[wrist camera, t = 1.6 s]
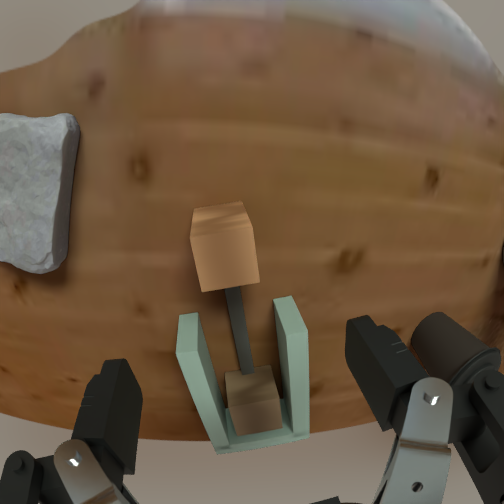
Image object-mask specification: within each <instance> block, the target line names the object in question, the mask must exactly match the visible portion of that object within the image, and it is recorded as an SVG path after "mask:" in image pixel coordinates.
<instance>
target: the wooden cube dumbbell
mask: <svg viewBox="0 0 504 504" xmlns="http://www.w3.org/2000/svg"><path fill="white" fill-rule="evenodd" d="M190 241H191V246H192V251H193V255H194V260H195V264H196V269H197V273H198V277H199V282H200V286H201V290H202V292H206V291H212V290H218V289H224V290H225V295H226V300H227V305H228V310H229V315H230V320H231V325H232V329H233V334H234V339H235V344H236V348H237V353H238V358H239V363H240V367H241V370H237V371H231V372H225V381H226V391H227V400H228V408H229V411H230V414H231V418H232V421H233V424H234V427H235V430H236V433H237V436H242V435H248V434H254V433H260V432H266V431H271V430H276V429H281V428H283V426H282V417H281V408H280V399H279V395H278V391H277V387H276V384H275V380H274V376H273V373H272V369H271V365H265V366H260V367H254V366H253V361H252V355H251V350H250V344H249V338H248V333H247V327H246V321H245V315H244V310H243V304H242V298H241V292H240V286H242V285H247V284H253V283H259V282H260V279H259V272H258V264H257V257H256V249H255V242H254V235H253V227H252V225H251V222H250V220H249V218H248V215H247V213H246V210H245V208H244V206H243V203H242V201H237V202H231V203H225V204H219V205H213V206H207V207H201V208H196V209H194V211H193V218H192V225H191V233H190Z"/></svg>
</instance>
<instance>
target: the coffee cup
mask: <svg viewBox="0 0 504 504" xmlns="http://www.w3.org/2000/svg"><path fill="white" fill-rule="evenodd" d="M411 341H412V346H413V347H414V349H415V351H416V353H417V354H418V356H419V358H420V360H421V361H422V363H423V365H424V367H425V369H426V370H427V372H428V374H429V376H430V377H434V378H439V379H442V380H444V381H445V382H447V383H448V384H449V385H450V386H455V385H462V384H468V383H473V381H474V379H475V377H476V375H477V374H478V373H479V372H481V371H483V370H489V369H490V370H496V371H498V369H499V367H500V364H501V356H500V350H499V349H497V348H496V347H495V348H489V347H488V346H487V345H486V344H484V343H483V342H482V341H480V340H479V339H478V338H476V337H475V336H474V335H472V334H471V333H470V332H468V331H467V330H466V329H465V328H463V327H462V326H460V325H459V324H458V323H456V322H455V321H454V320H452V319H451V318H450V317H448V316H447V315H446V314H444V313H443V312H436V313H432V314H431V315H429V316H427V317H426V318H425V319H424V320H422V321H421V322H420V324H419V325H418V326H417V327H416V329H415V331H414V333H413V335H412V339H411Z"/></svg>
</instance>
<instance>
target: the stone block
mask: <svg viewBox="0 0 504 504" xmlns="http://www.w3.org/2000/svg"><path fill="white" fill-rule="evenodd" d="M79 137H80V127H79V125H78V123H77V121H76V119H75V117H74V116H73V115H71V114H69V113H63V114H57V115H55V116H52V117H39V118H29V117H26V116H21V115H15V114H11V113H3V114H0V261H2V262H8V263H11V264H13V265H14V266H16V267H17V268H20V269H22V270H25V271H28V272H31V273H38V274H43V273H47V272H50V271H53V270H55V269H57V268H58V267H59V266H60V264H61V262H63V261H64V259H65V258H66V256H67V252H68V235H69V217H70V205H71V193H72V184H73V176H74V166H75V161H76V154H77V148H78V142H79Z"/></svg>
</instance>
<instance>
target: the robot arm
mask: <svg viewBox="0 0 504 504" xmlns="http://www.w3.org/2000/svg"><path fill="white" fill-rule="evenodd" d="M503 263H504V249H503ZM345 357H346V362H347V365H348V367H349V369H350V371H351V372H352V374H353V376H354V378H355V380H356V382H357V384H358V385H359V387H360V389H361V391H362V393H363V395H364V397H365V399H366V400H367V402H368V404H369V406H370V408H371V410H372V412H373V414H374V415H375V417H376V419H377V421H378V423H379V425H380V427H381V429H382V431H386V430H389V429H392V428H393V429H394V431H395V433H396V436H395V439H394V443H393V446H392V449H391V453H390V456H389V459H388V462H387V465H386V468H385V471H384V474H383V477H382V480H381V483H380V485H379V488H378V490H377V492H376V494H375V497H374V499H373V502H372V504H441V503H442V499H443V495H444V490H445V486H446V481H447V476H448V471H449V466H450V460H451V449H450V448H448V444H449V443H453V444H454V446H455V448H456V450H457V451H458V453H459V455H460V457H461V459H462V461H463V463H464V465H465V467H466V468H467V470H468V472H469V474H470V476H471V478H472V480H473V482H474V484H475V486H476V488H477V490H478V492H479V494H480V496H481V498H482V500H483V502H484V504H504V375H503V374H502V373H500V372H498V371H496V370H490V369H489V370H483V371H481V372H479V373H478V374H477V375H476V377H475V379H474V381H473V383H468V384H462V385H455V386H450V385H449V384H448V383H447V382H445V381H444V380H442V379H439V378H434V377H430V376H429V375H428V374H427V373H426V371H425V370H424V369H423V367H422V366H421V365H420V363H419V362H418V361H417V359H416V358H415V357H414V356H413V354H412V353H411V352H410V350H408V349H407V347H406V345H405V344H404V343H402V340H401V339H400V338H399V336H398V335H397V334H396V333H395V331H393V330H391V329H390V328H388V327H386V326H384V325H380V326H376V324H375V323H374V322H373V320H372V319H371V318H370V316H368V315H365V316H361V317H357V318H353V319H349V320H348V321H347V324H346V342H345ZM142 403H143V398H142V392H141V388H140V386H139V384H138V382H137V380H136V378H135V376H134V374H133V372H132V370H131V368H130V366H129V364H128V362H127V360H126V359H124V358H123V359H113V360H105V361H104V363H103V366H102V370H101V373H100V374H98V375H94V377H93V378H92V379H91V380H90V382H89V383H88V384H87V387H86V390H85V393H84V398H83V399H82V402H81V407H80V409H79V412H78V416H77V419H76V423H75V426H74V430H73V433H72V437H71V440H67V441H65V442H63V443H62V444H61V445H59V447H58V448H57V449H56V451H55V453H54V455H51V456H47V457H42V458H38V459H35V458H34V457H33V456H32V455H31V454H29V453H28V452H26V451H23V450H20V451H16V452H14V453H12V454H11V455H10V456H9V457H8V458H7V460H6V462H5V465H4V469H3V473H2V476H1V480H0V504H38V503H40V504H139V503H138V502H137V500H136V499H135V498H134V497H133V495H132V494H131V493H130V491H129V490H128V489H127V487H126V486H125V485H124V484H123V474H131V475H134V473H135V462H136V451H137V443H138V434H139V426H140V418H141V410H142ZM311 504H360V503H340V501H339V498H338V496H337V497H333V498H330V499H327V500H323V501H319V502H315V503H311Z"/></svg>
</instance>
